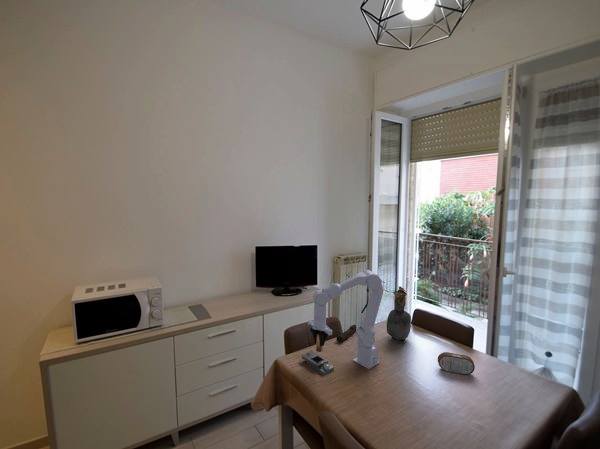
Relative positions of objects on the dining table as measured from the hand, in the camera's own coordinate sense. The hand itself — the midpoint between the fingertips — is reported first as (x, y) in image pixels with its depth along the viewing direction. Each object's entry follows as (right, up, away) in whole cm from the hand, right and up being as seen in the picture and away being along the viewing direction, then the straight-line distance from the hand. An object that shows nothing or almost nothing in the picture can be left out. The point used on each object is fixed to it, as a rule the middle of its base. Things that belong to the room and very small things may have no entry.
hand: (319, 344), depth 140 cm
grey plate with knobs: (-1, -10, 0) cm, 10 cm away
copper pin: (0, -3, 0) cm, 3 cm away
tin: (+62, -11, -4) cm, 63 cm away
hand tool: (+18, -8, +30) cm, 36 cm away
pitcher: (+47, -8, +28) cm, 55 cm away
